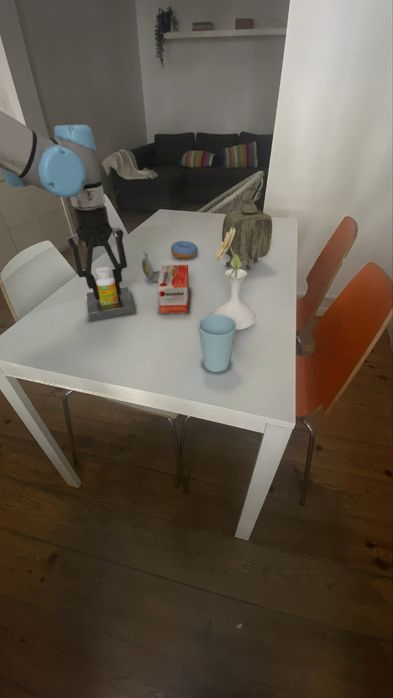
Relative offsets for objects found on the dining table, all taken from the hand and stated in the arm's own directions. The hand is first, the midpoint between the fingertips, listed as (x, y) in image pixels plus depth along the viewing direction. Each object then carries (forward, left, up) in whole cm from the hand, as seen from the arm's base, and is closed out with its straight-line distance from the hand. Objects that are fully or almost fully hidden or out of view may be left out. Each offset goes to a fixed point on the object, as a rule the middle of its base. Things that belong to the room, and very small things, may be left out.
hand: (107, 295), depth 88 cm
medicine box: (+18, +4, -4) cm, 19 cm away
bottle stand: (0, 0, -4) cm, 4 cm away
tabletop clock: (+40, +28, -4) cm, 49 cm away
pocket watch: (+10, +18, -4) cm, 21 cm away
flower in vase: (+34, -8, -4) cm, 35 cm away
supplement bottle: (0, 0, -3) cm, 3 cm away
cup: (+30, -24, -4) cm, 39 cm away
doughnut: (+18, +38, -4) cm, 42 cm away
